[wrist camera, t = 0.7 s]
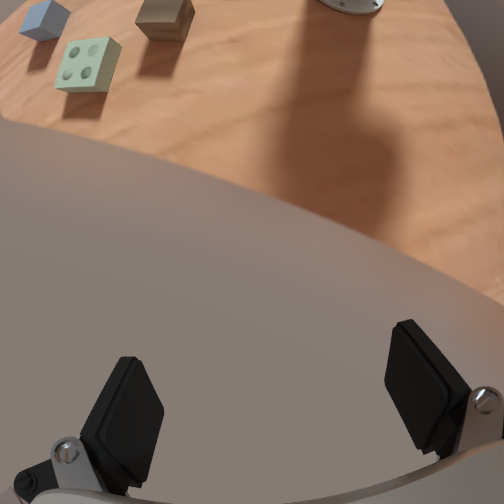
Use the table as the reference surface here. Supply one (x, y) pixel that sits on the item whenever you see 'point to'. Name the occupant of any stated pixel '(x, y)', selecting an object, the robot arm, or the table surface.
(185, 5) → the walnut block
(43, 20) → the slate block
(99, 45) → the base brick
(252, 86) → the table surface
